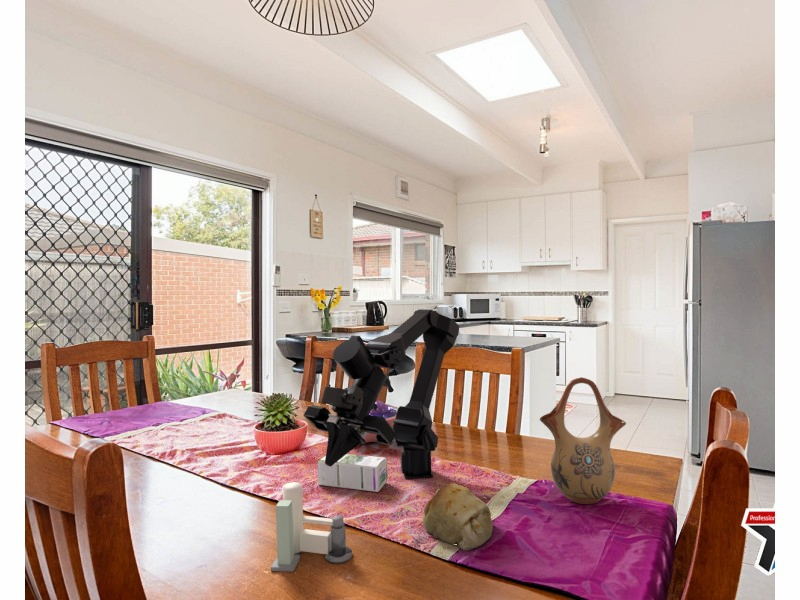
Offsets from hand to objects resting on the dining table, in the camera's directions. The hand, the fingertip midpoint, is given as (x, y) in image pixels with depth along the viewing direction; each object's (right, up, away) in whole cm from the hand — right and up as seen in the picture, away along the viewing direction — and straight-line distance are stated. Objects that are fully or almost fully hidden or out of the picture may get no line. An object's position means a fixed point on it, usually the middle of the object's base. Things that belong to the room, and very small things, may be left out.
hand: (327, 465), depth 88 cm
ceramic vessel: (+50, -11, +10) cm, 52 cm away
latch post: (-5, -12, -10) cm, 17 cm away
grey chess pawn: (+3, -12, -8) cm, 15 cm away
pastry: (+24, -12, -1) cm, 26 cm away
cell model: (+4, -10, +50) cm, 52 cm away
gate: (-1, -12, -7) cm, 14 cm away
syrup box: (-4, -8, +22) cm, 24 cm away
